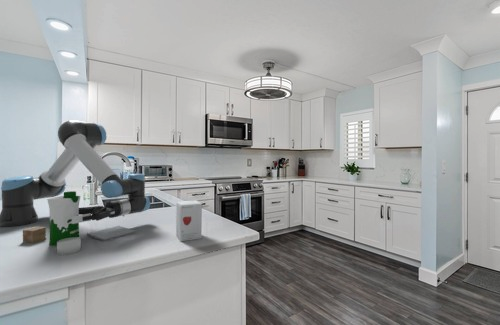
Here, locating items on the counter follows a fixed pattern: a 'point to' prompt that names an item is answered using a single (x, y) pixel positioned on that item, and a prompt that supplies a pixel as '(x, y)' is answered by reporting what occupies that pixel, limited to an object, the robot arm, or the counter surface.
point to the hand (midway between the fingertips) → (64, 217)
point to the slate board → (111, 233)
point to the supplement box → (188, 220)
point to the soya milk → (63, 217)
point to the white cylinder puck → (68, 246)
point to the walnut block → (34, 234)
